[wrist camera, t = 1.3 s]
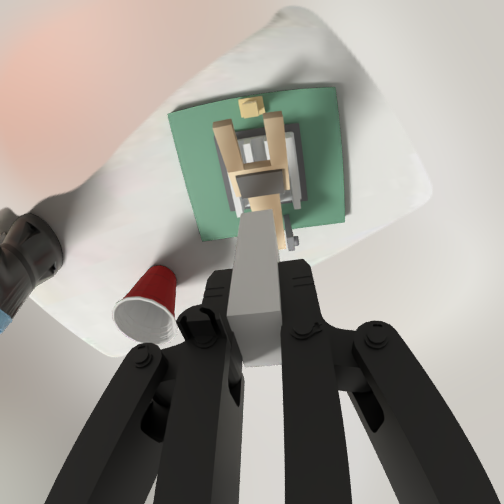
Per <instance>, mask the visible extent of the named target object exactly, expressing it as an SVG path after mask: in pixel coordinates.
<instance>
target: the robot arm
mask: <svg viewBox="0 0 504 504" xmlns="http://www.w3.org/2000/svg"><path fill="white" fill-rule="evenodd" d="M62 261H63V256H62V250H61V246H60V244H59V241H58V239H57V237H56V235H55V234H54V232H53V231H52V229H51V228H50V227H49V226H48V225H47V223H46V222H44V221H43V220H42V219H41V218H39V217H38V216H36V215H33V214H24V215H22V216H20V217H19V218H18V219H17V220H16V221H15V222H14V223H13V224H12V226H11V228H10V230H9V231H8V233H7V235H6V237H5V239H4V241H3V243H2V244H1V245H0V334H1V333H2V332H3V331H4V330H5V329H6V327H7V326H8V325H9V324H10V323H11V322H12V319H13V318H14V316H15V315H16V313H17V312H18V310H19V309H20V307H21V306H22V305H23V303H24V302H25V300H26V299H27V298H28V296H29V295H30V293H31V292H32V291H33V289H34V288H35V287H36V286H38V285H40V284H41V283H43V282H45V281H46V280H48V279H50V278H52V277H53V276H54V275H55V274H56V273H57V272H58V270H59V269H60V268H61V266H62ZM203 297H204V298H203V301H202V304H200V305H196V306H192V307H190V308H188V309H186V310H185V311H184V312H182V313H181V314H180V315H179V317H178V319H177V320H176V324H177V326H178V328H179V330H180V331H181V333H182V335H183V337H184V339H185V341H184V342H183V343H181V344H178V345H176V346H172V347H169V348H165V349H162V350H161V349H160V348H159V347H158V345H156V344H154V343H147V342H145V343H142V344H138V345H137V346H135V347H134V348H132V349H131V350H130V352H129V353H128V354H127V355H126V357H125V359H124V360H123V362H122V363H121V365H120V367H119V368H118V370H117V371H116V373H115V375H114V376H113V378H112V380H111V381H110V383H109V385H108V386H107V388H106V390H105V391H104V393H103V395H102V396H101V398H100V400H99V401H98V403H97V405H96V407H95V408H94V410H93V412H92V413H91V415H90V417H89V419H88V420H87V422H86V424H85V426H84V428H83V429H82V431H81V433H80V435H79V436H78V438H77V440H76V442H75V444H74V446H73V448H72V450H71V451H70V453H69V455H68V457H67V459H66V461H65V463H64V465H63V467H62V469H61V470H60V473H59V474H58V476H57V478H56V480H55V483H54V485H53V487H52V489H51V491H50V493H49V495H48V497H47V499H46V501H45V503H44V504H144V503H145V501H146V499H147V496H148V494H149V492H150V490H151V488H152V485H153V483H154V481H155V479H156V476H157V474H158V476H157V482H156V489H155V496H154V502H153V504H239V484H240V464H241V463H240V462H241V443H242V423H243V402H244V376H243V374H242V361H243V364H244V366H245V367H259V366H271V365H282V381H283V412H284V449H285V450H284V452H285V504H352V496H351V484H350V475H349V464H348V456H347V447H346V440H345V432H344V425H343V418H342V411H341V405H340V399H339V393H338V390H340V391H347V393H348V395H349V397H350V399H351V401H352V403H353V405H354V407H355V409H356V411H357V413H358V416H359V418H360V420H361V422H362V424H363V426H364V428H365V430H366V432H367V434H368V436H369V439H370V441H371V443H372V445H373V447H374V449H375V451H376V453H377V455H378V458H379V460H380V462H381V464H382V466H383V468H384V470H385V473H386V475H387V477H388V479H389V481H390V484H391V486H392V488H393V490H394V492H395V495H396V497H397V499H398V501H399V504H501V503H500V501H499V499H498V497H497V495H496V493H495V490H494V488H493V486H492V484H491V482H490V480H489V478H488V476H487V474H486V472H485V470H484V468H483V466H482V464H481V462H480V460H479V459H478V456H477V455H476V453H475V451H474V449H473V447H472V446H471V444H470V442H469V440H468V438H467V437H466V435H465V433H464V432H463V430H462V428H461V426H460V425H459V423H458V422H457V420H456V418H455V416H454V415H453V413H452V412H451V410H450V408H449V407H448V405H447V404H446V402H445V401H444V399H443V397H442V396H441V394H440V393H439V391H438V390H437V389H436V387H435V385H434V384H433V382H432V381H431V379H430V378H429V376H428V375H427V373H426V372H425V370H424V369H423V367H422V366H421V365H420V363H419V362H418V360H417V359H416V357H415V356H414V354H413V353H412V352H411V350H410V349H409V348H408V346H407V345H406V343H405V342H404V341H403V339H402V338H401V336H400V335H399V334H398V332H397V331H396V330H395V329H394V328H393V327H392V326H391V325H390V324H387V323H385V322H382V321H370V322H366V323H364V324H362V325H361V326H359V327H358V329H357V330H356V331H353V330H344V329H339V328H335V327H333V326H331V325H329V324H328V323H327V322H326V321H325V320H324V319H323V317H322V315H321V312H320V307H319V302H318V298H317V293H316V289H315V285H314V280H313V276H312V271H311V267H310V265H309V264H308V263H307V262H306V261H305V260H304V259H298V260H291V261H283V262H280V258H279V250H278V244H277V237H276V230H275V223H274V217H273V210H272V209H268V210H261V211H254V212H247V213H241V216H240V223H239V230H238V236H237V243H236V250H235V257H234V265H233V269H225V270H217V271H214V272H213V273H212V275H211V276H210V277H209V278H208V280H207V284H206V288H205V292H204V296H203Z"/></svg>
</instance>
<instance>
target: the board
mask: <svg viewBox="0 0 504 504" xmlns="http://www.w3.org/2000/svg"><path fill="white" fill-rule="evenodd" d="M275 111H282V115H283V121H284V130H285V140H286V150H287V160H288V171H289V183H290V190H284V191H285V193H280V194H279V195H280V203H281V211H282V219H283V227H284V230H285V231H286V237H287V243H288V250H289V251H294V250H295V246H298V245H299V240H298V236H294V237H293V232H292V229H296V228H304V227H312V226H319V225H327V224H335V223H343V222H345V204H344V176H343V159H342V145H341V133H340V123H339V113H338V105H337V97H336V89H335V87H322V88H307V89H296V90H286V91H277V92H269V93H262V94H256V95H249V96H243V97H238V98H232V99H227V100H222V101H217V102H213V103H208V104H204V105H200V106H195V107H191V108H188V109H184V110H180V111H176V112H173V113H169V114H167V115H168V119H169V123H170V127H171V131H172V135H173V139H174V143H175V147H176V150H177V154H178V158H179V162H180V166H181V169H182V173H183V177H184V180H185V184H186V187H187V191H188V195H189V198H190V202H191V205H192V208H193V212H194V215H195V219H196V222H197V225H198V229H199V232H200V235H201V239H202V242H203V241H210V240H217V239H224V238H231V237H237V236H238V230H239V223H240V216H241V213H247V212H252V210H251V207H250V203H249V200H248V198H245V199H242V197H236V195H235V192H234V189H233V186H232V183H231V180H230V178H229V175H228V172H227V169H226V166H225V163H224V160H223V157H222V154H221V152H220V149H219V146H218V143H217V140H216V137H215V134H214V131H213V122H216V121H221V120H226V119H232V123H233V126H234V130H235V134H236V137H237V141H238V144H239V148H240V152H241V155H242V159H243V163H251V162H257V161H264V160H270V155H269V149H268V143H267V137H266V131H265V125H264V120H263V114H262V113H268V112H275Z"/></svg>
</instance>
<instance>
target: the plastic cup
mask: <svg viewBox="0 0 504 504" xmlns="http://www.w3.org/2000/svg"><path fill="white" fill-rule="evenodd" d="M176 283H177V282H176V277H175V274H174V273H173V272H172V271H171V270H170V269H169V268H167V267H164V266H161V265H157V266H153V267H151V268H150V269H148V271H147V272H146V273H145V274H144V275H143V276H142V277H141V278H140V279H139V281H138V282H137V283H136V284H135V286H134V287H133V288H132V289H131V290H130V292H129V293H128V294H127V295H126V296H125V297H124V298H123V299H122V300H120V301H118V302H117V303H116V305H115V306H114V308H113V310H112V320H113V321H114V323H115V325H116V327H117V329H118V330H119V331H121V332H122V333H123V334H124V335H125V336H126V337H128V338H130V339H132V340H133V341H135V342H137V343H141V344H142V343H145V342H147V343H154V344H156V345H163V344H166V343H169V342H171V341H172V340H173V339H174V338H175V337H176V335H177V329H178V326H177V324H176V320H175V314H174V310H175V297H176Z"/></svg>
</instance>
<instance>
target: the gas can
mask: <svg viewBox="0 0 504 504" xmlns="http://www.w3.org/2000/svg"><path fill="white" fill-rule="evenodd" d="M5 237H6V234H5V232H4V233H3V234H2V235H0V245H1V244H2V243H3V241H4V239H5Z"/></svg>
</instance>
